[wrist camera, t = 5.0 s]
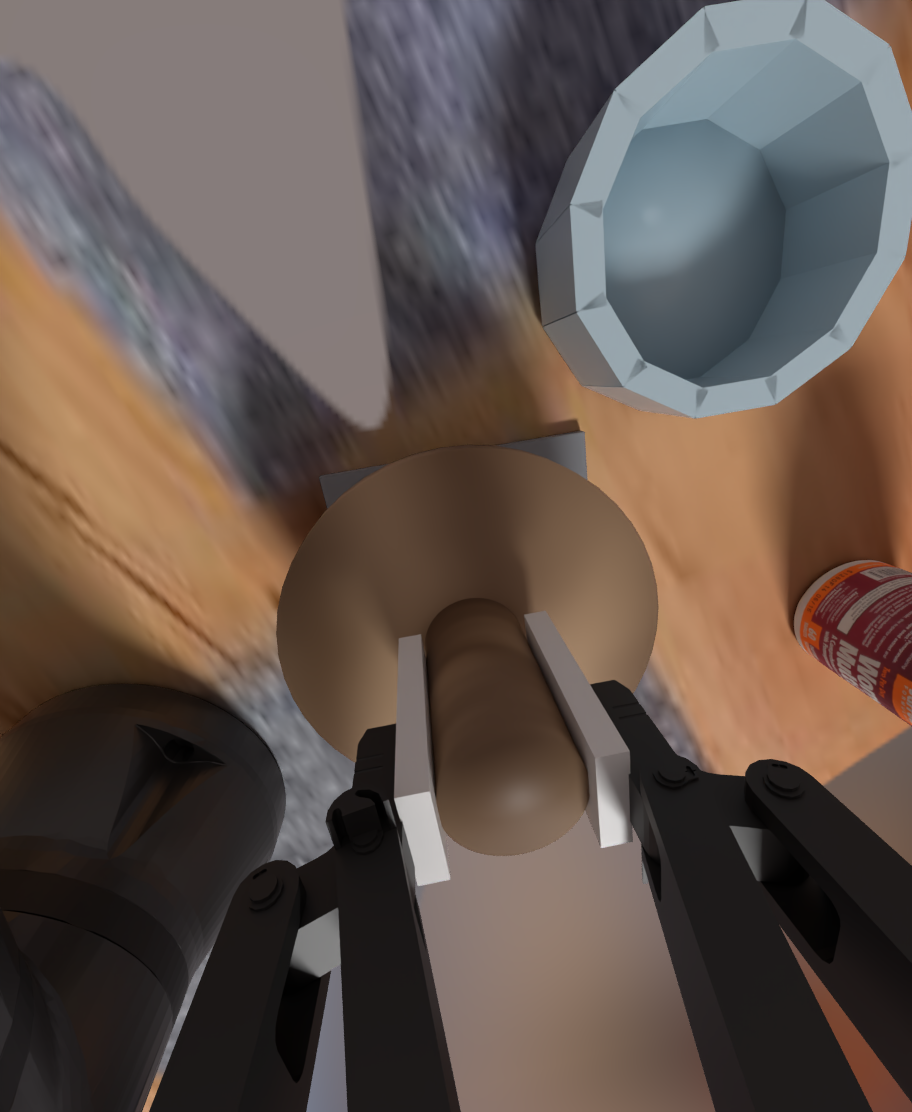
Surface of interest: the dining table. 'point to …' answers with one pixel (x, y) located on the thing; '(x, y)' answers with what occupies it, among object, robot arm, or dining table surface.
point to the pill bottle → (863, 629)
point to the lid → (469, 625)
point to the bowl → (731, 211)
